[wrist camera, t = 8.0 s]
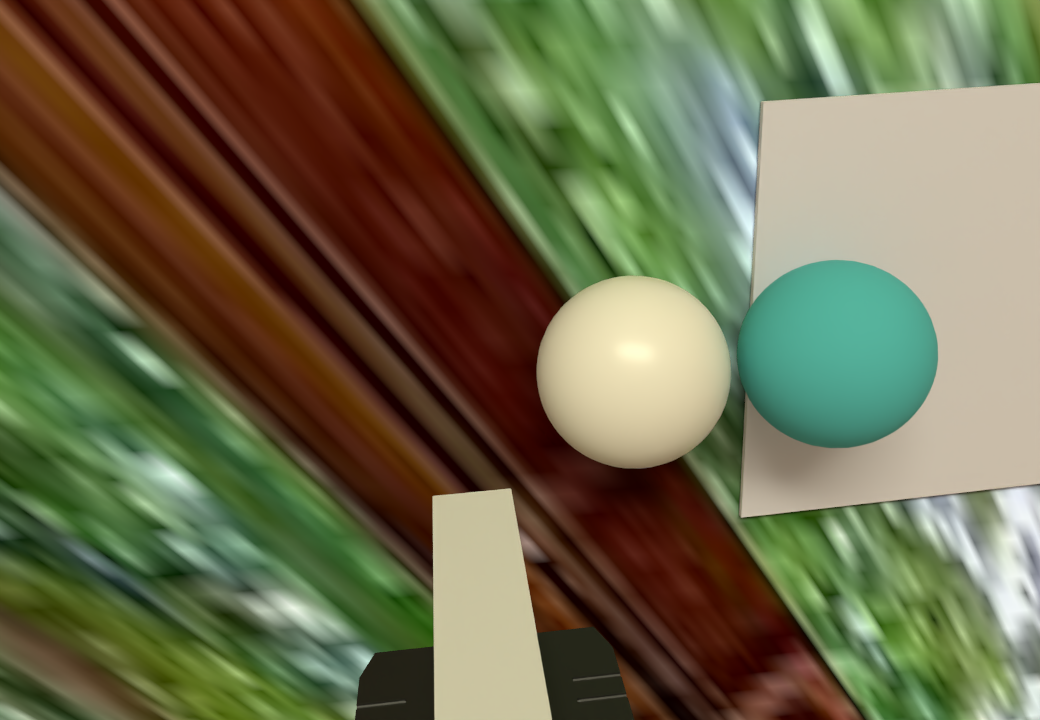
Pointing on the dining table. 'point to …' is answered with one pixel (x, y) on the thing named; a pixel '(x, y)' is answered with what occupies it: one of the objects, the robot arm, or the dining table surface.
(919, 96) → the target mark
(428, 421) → the dining table surface
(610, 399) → the cue ball
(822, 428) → the object ball
